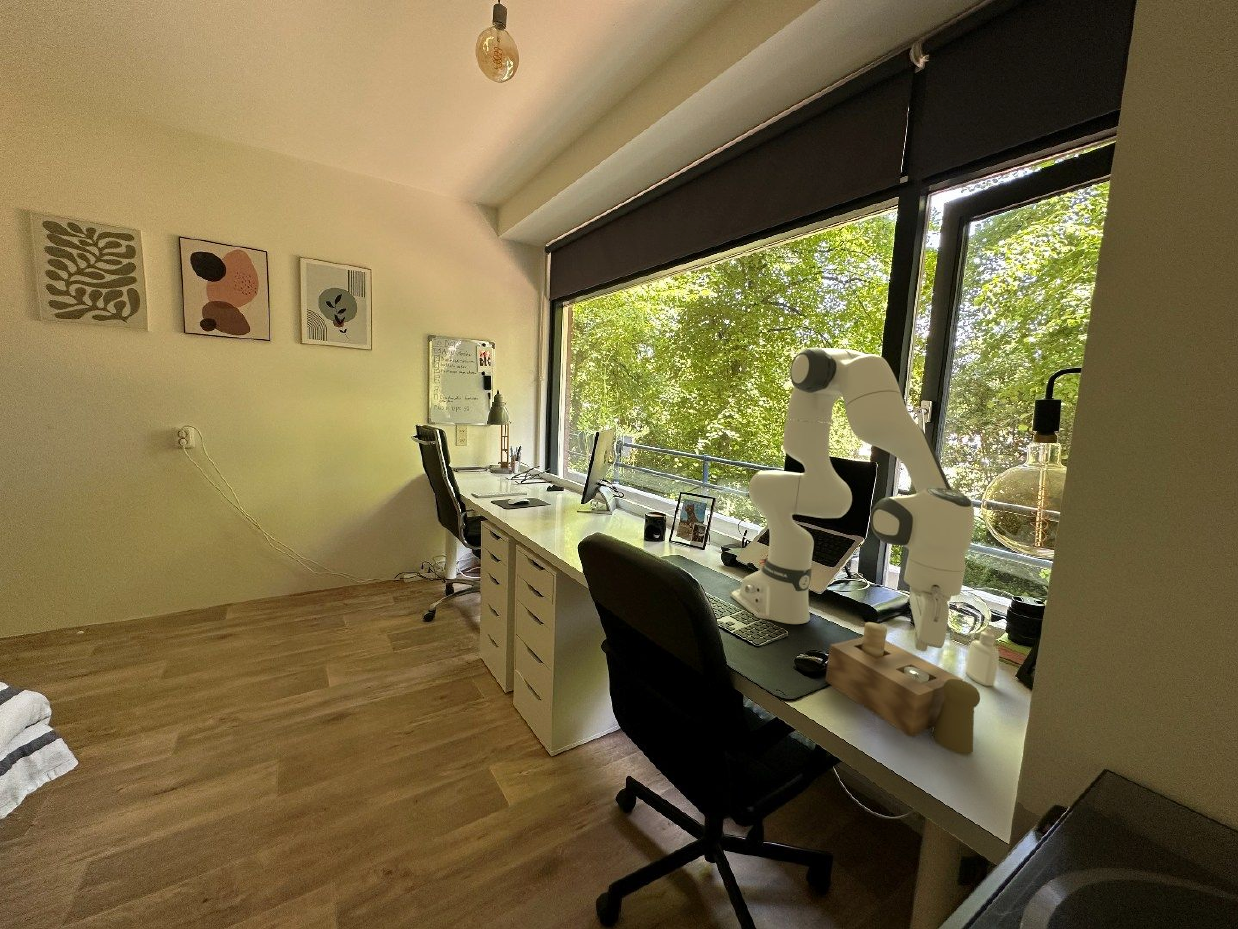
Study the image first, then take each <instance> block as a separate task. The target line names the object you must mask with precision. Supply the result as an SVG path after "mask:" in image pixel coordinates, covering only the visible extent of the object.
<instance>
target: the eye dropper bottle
mask: <svg viewBox="0 0 1238 929" xmlns="http://www.w3.org/2000/svg"><path fill="white" fill-rule="evenodd" d="M995 637H996V635H995V634H993V633H992V628H991V627H988V626H987V627H986V629H985V630H984V631H981V632H980V637H979V640H977V639H975V640H973V641H971V643H970V646H969V650H968V657H967V662H966V667H965V673H966V675H967V676H968V677H969V678H970V679H972V680H973V681H975V682H976V683H978V684H980V685H982V686H986V687H994V685H995V681H996V675H997V670H998V667H999V666H998V665H999V660H1000V653H999V651H998V649H996V647H995V646H994V643H995V642H994V641H995Z"/></svg>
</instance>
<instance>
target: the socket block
mask: <svg viewBox="0 0 1238 929" xmlns="http://www.w3.org/2000/svg"><path fill="white" fill-rule="evenodd" d="M862 640H863V636H862V637H857V638H854V639H848V640H845V641H841V642H836V643H832V644H830V646H829V653H828V659H827V666H826V672H825V680H826V681H827V682H828V683H827V682H826V681H825V682H826V683H827V684H829V685H830V686H832V687H833V688H835V689H836V690H838V691H840V692H841V693H842V694H845V695H846V696H847V697H848V698H850V699H852V700H853V701H855V702H856V703H858V704H860V705H861V706H863V707H864V708H866V709H867V710H868V711H870V712H871V713H873V714H875V715H876V716H878V717H879V718H881V719H883V720H884V721H885V722H887V723H888V724H890V725H891V726H893V727H894V728H896V729H898V730H899V731H900V732H902V733H904V734H905V735H907V736H908V737H910V738H913V737H915V736H918V735H920V734H923V733H926V732H927V731H929V730H933V728H934V725H935V723H936V720H937V718H938V715H939V712H940V710H941V707H942V704H943V702H944V699H945V696H944V693H943V685H944V683H945V682H946V681H947V680H949V679H959V680H962V681H964V680H963V678H962V677H959V676H958V675H955V674H953V673H951V672H949V671H948V670H945V669H943V668H941V667H939V666H937V665H935V664H933V663H931V662H929V661H928V660H926V659H924V658H922V657H920V656H917V655H915V654H913V653H911V652H910V651H908V650H905V649H903V648H901V647H899V646H898V645H896V644H894V643H891V642H889V641H887V640H885V647H884V653H883V657H879V658H874V657H873V656H871V655H869V654H867V653H865V652H863V651H862V650H861V647H862ZM905 667H915V668H918V669H921V670H923V671H925V672H926V673H927V674H928V675H929V680H928V682H925V683H920V682H918V681H916V680H915V679H913V678H911V677H909V676H907V675H906V674H904V668H905Z"/></svg>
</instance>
